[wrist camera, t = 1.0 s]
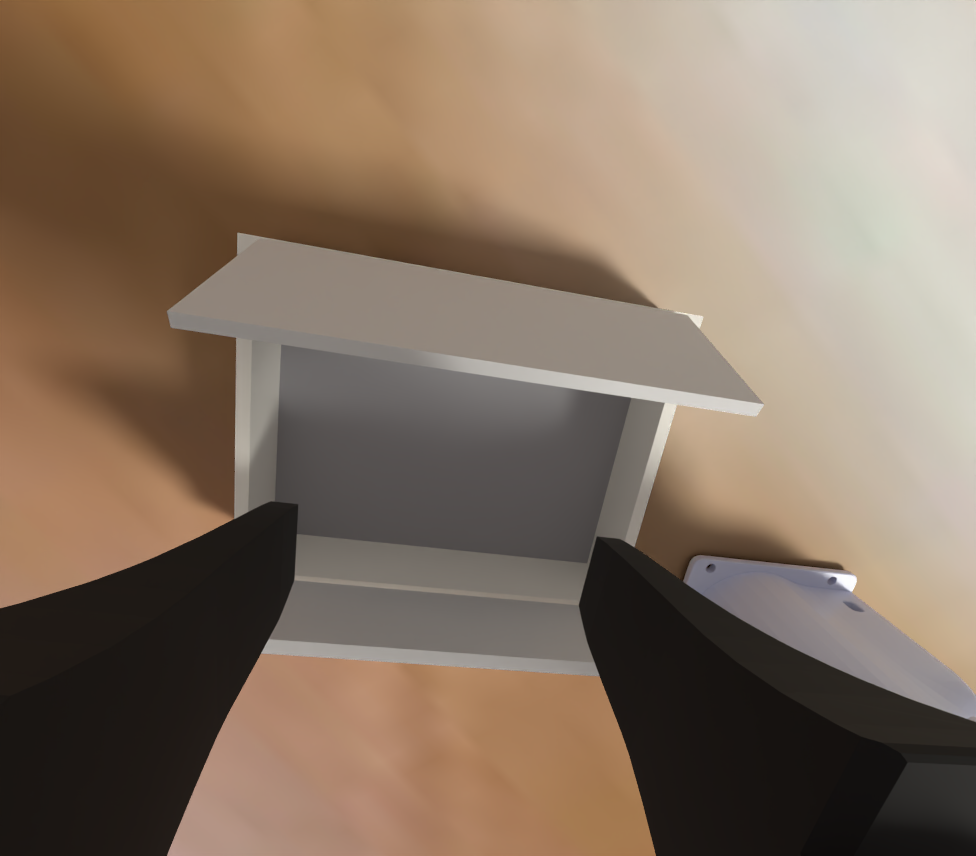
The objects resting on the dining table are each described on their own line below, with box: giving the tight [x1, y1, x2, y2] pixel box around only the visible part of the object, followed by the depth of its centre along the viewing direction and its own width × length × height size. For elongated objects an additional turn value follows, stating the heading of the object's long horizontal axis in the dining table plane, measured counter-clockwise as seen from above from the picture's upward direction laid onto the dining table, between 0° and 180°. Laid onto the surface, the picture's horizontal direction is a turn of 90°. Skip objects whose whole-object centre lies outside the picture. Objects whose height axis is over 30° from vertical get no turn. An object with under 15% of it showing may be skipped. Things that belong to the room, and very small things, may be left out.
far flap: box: [261, 580, 600, 676], centre depth 16 cm, size 6×14×1 cm
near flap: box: [167, 238, 764, 417], centre depth 13 cm, size 6×14×1 cm
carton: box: [234, 232, 703, 605], centre depth 19 cm, size 16×13×4 cm
